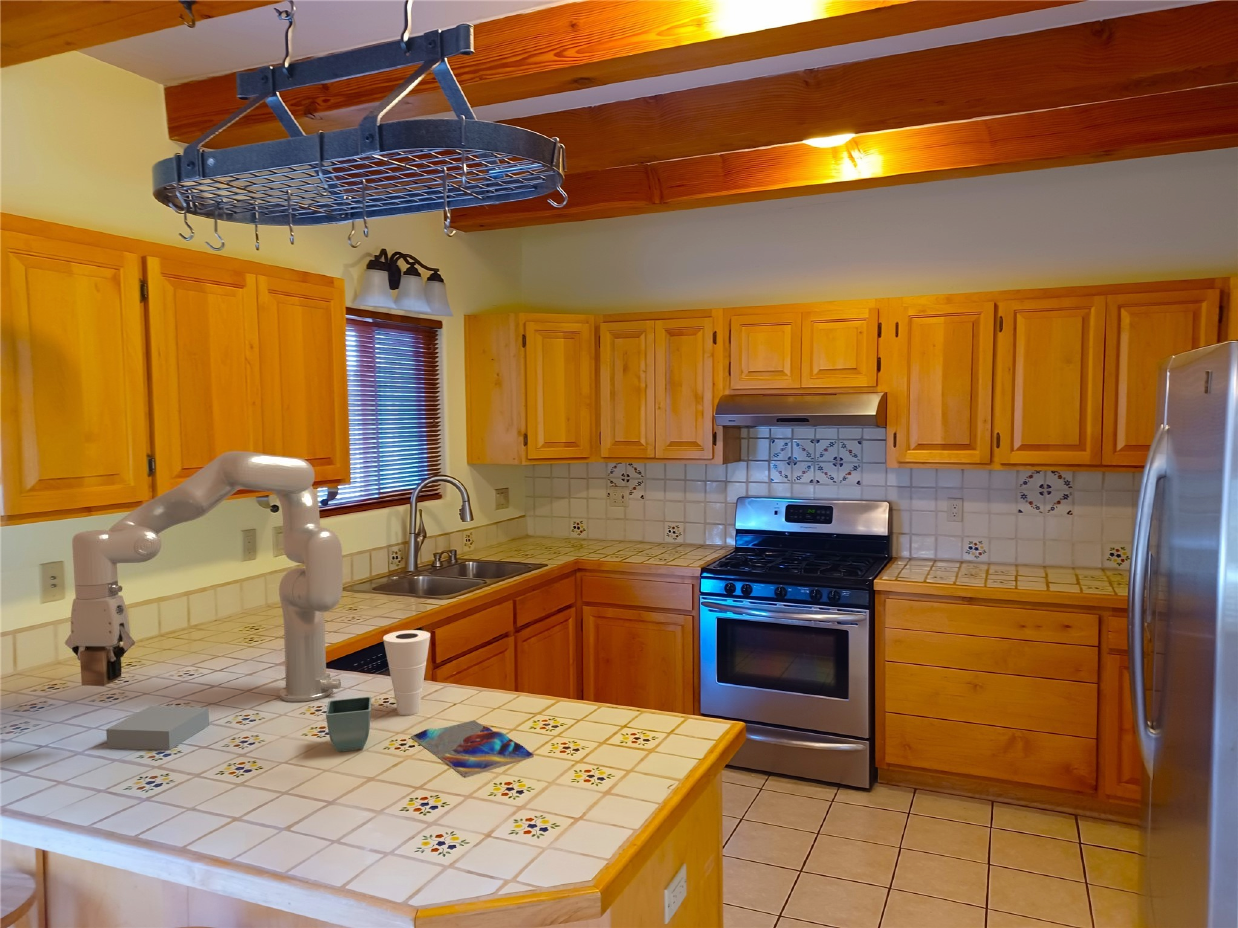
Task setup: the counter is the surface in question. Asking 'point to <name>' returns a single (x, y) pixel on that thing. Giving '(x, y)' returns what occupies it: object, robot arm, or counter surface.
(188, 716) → the pedestal
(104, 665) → the walnut block
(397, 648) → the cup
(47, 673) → the counter surface
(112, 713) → the counter surface
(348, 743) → the flower pot
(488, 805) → the counter surface
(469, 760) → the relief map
